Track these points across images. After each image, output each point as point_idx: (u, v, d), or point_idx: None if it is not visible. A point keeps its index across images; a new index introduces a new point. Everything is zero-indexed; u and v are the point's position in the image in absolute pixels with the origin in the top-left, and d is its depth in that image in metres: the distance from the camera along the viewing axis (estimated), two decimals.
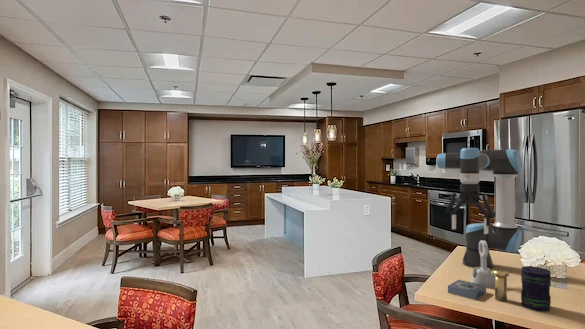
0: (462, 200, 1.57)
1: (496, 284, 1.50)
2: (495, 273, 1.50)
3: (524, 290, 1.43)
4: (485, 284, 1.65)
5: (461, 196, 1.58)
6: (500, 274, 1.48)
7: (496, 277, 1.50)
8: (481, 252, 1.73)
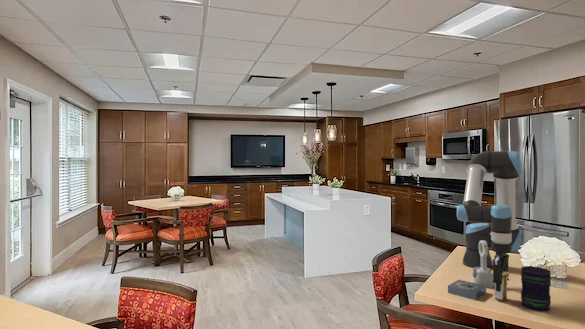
0: None
1: None
2: None
3: (524, 290, 1.43)
4: (485, 284, 1.65)
5: None
6: None
7: None
8: (481, 252, 1.73)
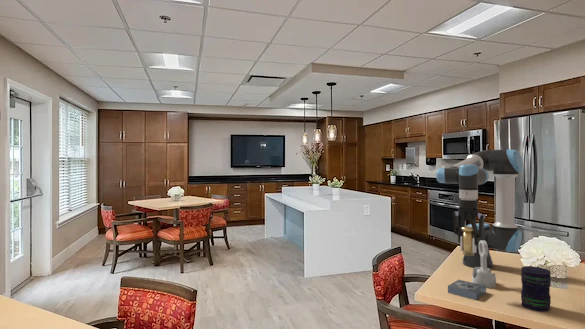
0: (463, 217, 1.58)
1: (471, 240, 1.56)
2: (473, 230, 1.55)
3: (524, 290, 1.43)
4: (485, 284, 1.65)
5: (460, 212, 1.59)
6: None
7: (471, 233, 1.56)
8: (481, 252, 1.73)
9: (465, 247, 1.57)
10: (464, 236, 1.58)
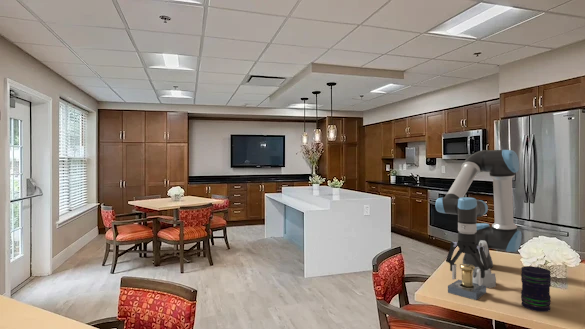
0: (460, 249, 1.59)
1: (470, 279, 1.57)
2: (472, 268, 1.56)
3: (524, 290, 1.43)
4: (485, 284, 1.65)
5: (459, 245, 1.60)
6: (474, 267, 1.57)
7: (470, 272, 1.57)
8: None
9: (464, 286, 1.58)
10: (463, 274, 1.58)
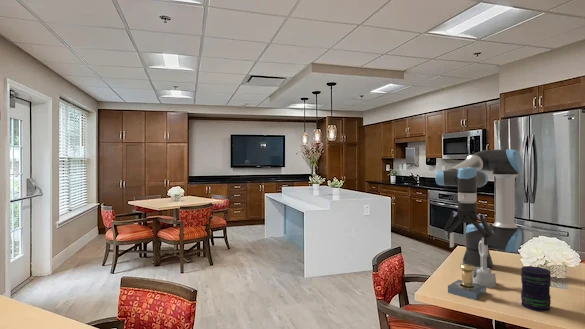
0: (460, 219, 1.59)
1: (470, 279, 1.56)
2: (472, 269, 1.56)
3: (524, 290, 1.43)
4: (485, 284, 1.65)
5: (459, 215, 1.60)
6: (474, 268, 1.57)
7: (470, 272, 1.57)
8: (481, 252, 1.73)
9: (464, 286, 1.58)
10: (463, 274, 1.58)
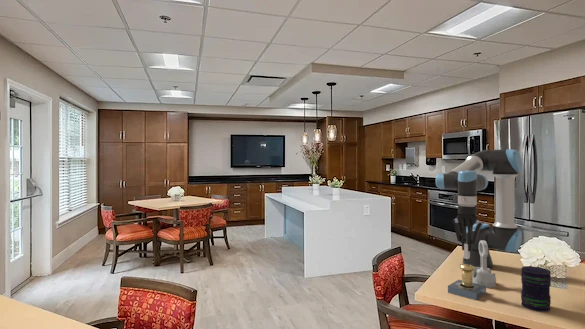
0: (462, 223, 1.58)
1: (470, 279, 1.56)
2: (472, 268, 1.56)
3: (524, 290, 1.43)
4: (485, 284, 1.65)
5: (459, 218, 1.60)
6: (474, 267, 1.57)
7: (470, 272, 1.57)
8: (481, 252, 1.73)
9: (464, 286, 1.58)
10: (463, 274, 1.58)
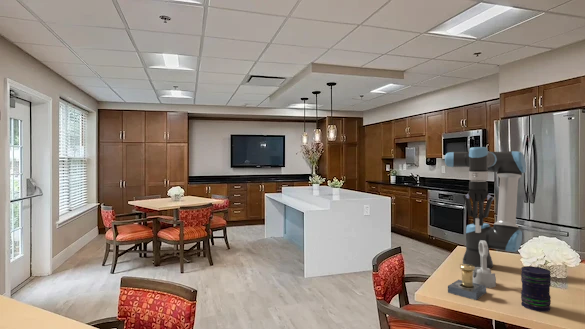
0: (473, 198, 1.62)
1: (470, 279, 1.56)
2: (472, 269, 1.56)
3: (524, 290, 1.43)
4: (485, 284, 1.65)
5: (470, 193, 1.64)
6: (474, 268, 1.57)
7: (470, 272, 1.56)
8: (481, 252, 1.73)
9: (464, 286, 1.57)
10: (463, 275, 1.58)
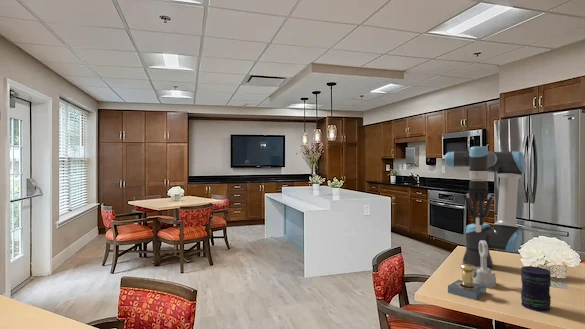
0: (474, 198, 1.62)
1: (470, 279, 1.56)
2: (473, 269, 1.56)
3: (524, 290, 1.43)
4: (485, 284, 1.65)
5: (470, 193, 1.64)
6: None
7: (471, 272, 1.57)
8: (481, 252, 1.73)
9: (464, 286, 1.57)
10: (463, 274, 1.58)
